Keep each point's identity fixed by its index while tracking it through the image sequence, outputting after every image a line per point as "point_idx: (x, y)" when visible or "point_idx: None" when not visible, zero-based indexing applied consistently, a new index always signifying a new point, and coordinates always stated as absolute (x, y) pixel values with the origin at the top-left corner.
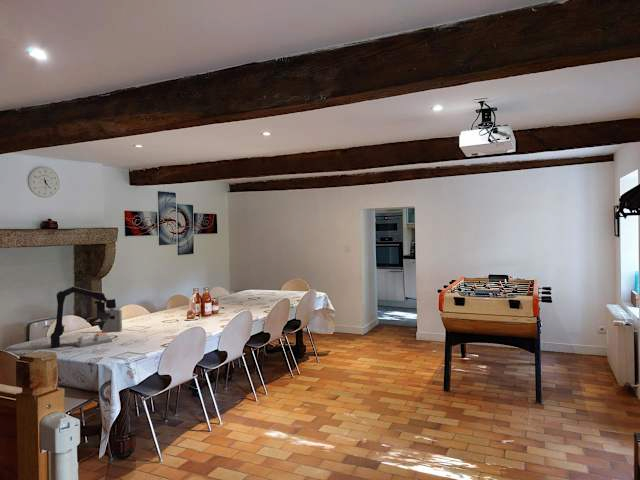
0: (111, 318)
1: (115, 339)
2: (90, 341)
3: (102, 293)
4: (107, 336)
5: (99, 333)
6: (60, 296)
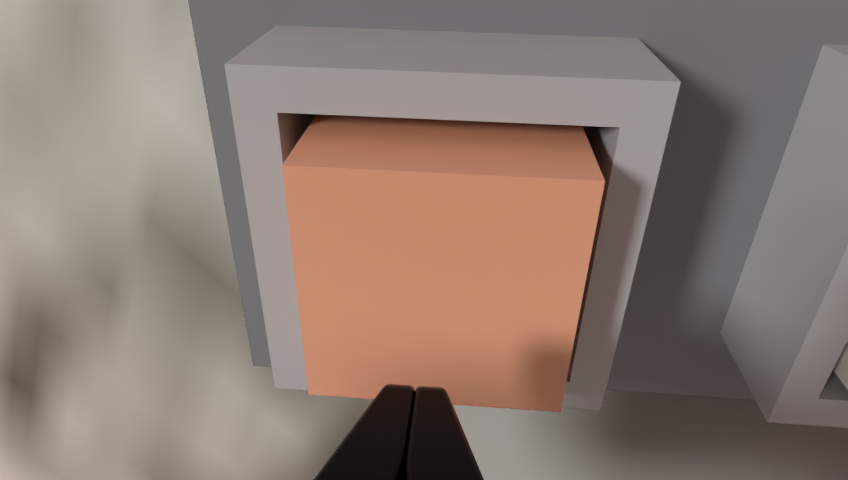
0: None
1: (71, 126)
2: None
3: None
4: (272, 49)
5: (472, 346)
6: None
